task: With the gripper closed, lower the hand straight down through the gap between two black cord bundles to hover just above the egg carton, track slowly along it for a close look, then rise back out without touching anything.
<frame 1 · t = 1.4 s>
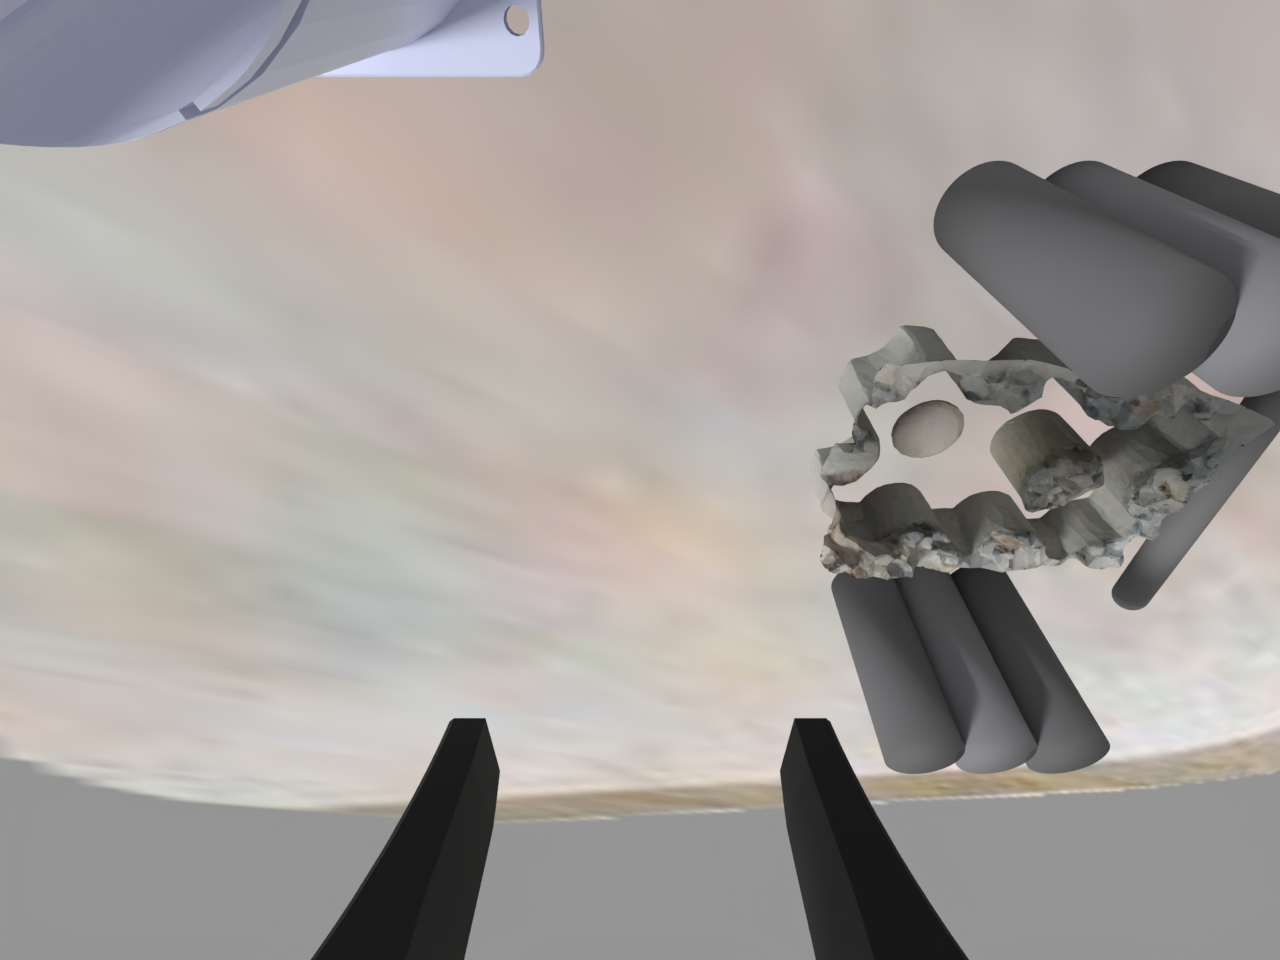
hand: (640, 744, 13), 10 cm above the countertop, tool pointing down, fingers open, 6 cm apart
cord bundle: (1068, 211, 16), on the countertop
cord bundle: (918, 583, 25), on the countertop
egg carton: (974, 422, 21), on the countertop
dark grey rod: (1224, 436, 21), on the countertop
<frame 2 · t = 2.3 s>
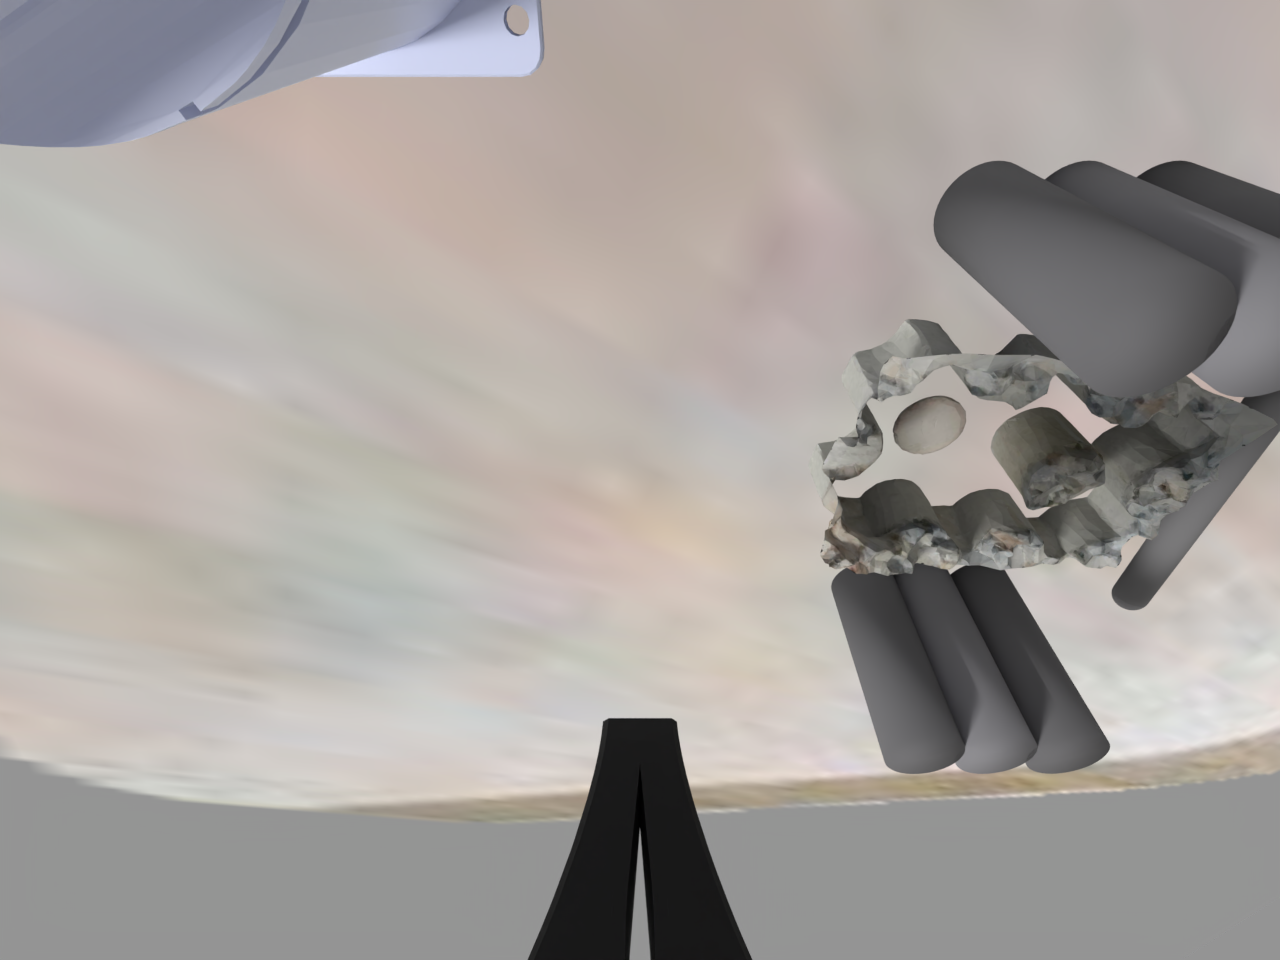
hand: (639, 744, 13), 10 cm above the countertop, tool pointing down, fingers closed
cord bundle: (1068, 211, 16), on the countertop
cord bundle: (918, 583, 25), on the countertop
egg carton: (975, 419, 21), on the countertop
dark grey rod: (1224, 436, 21), on the countertop
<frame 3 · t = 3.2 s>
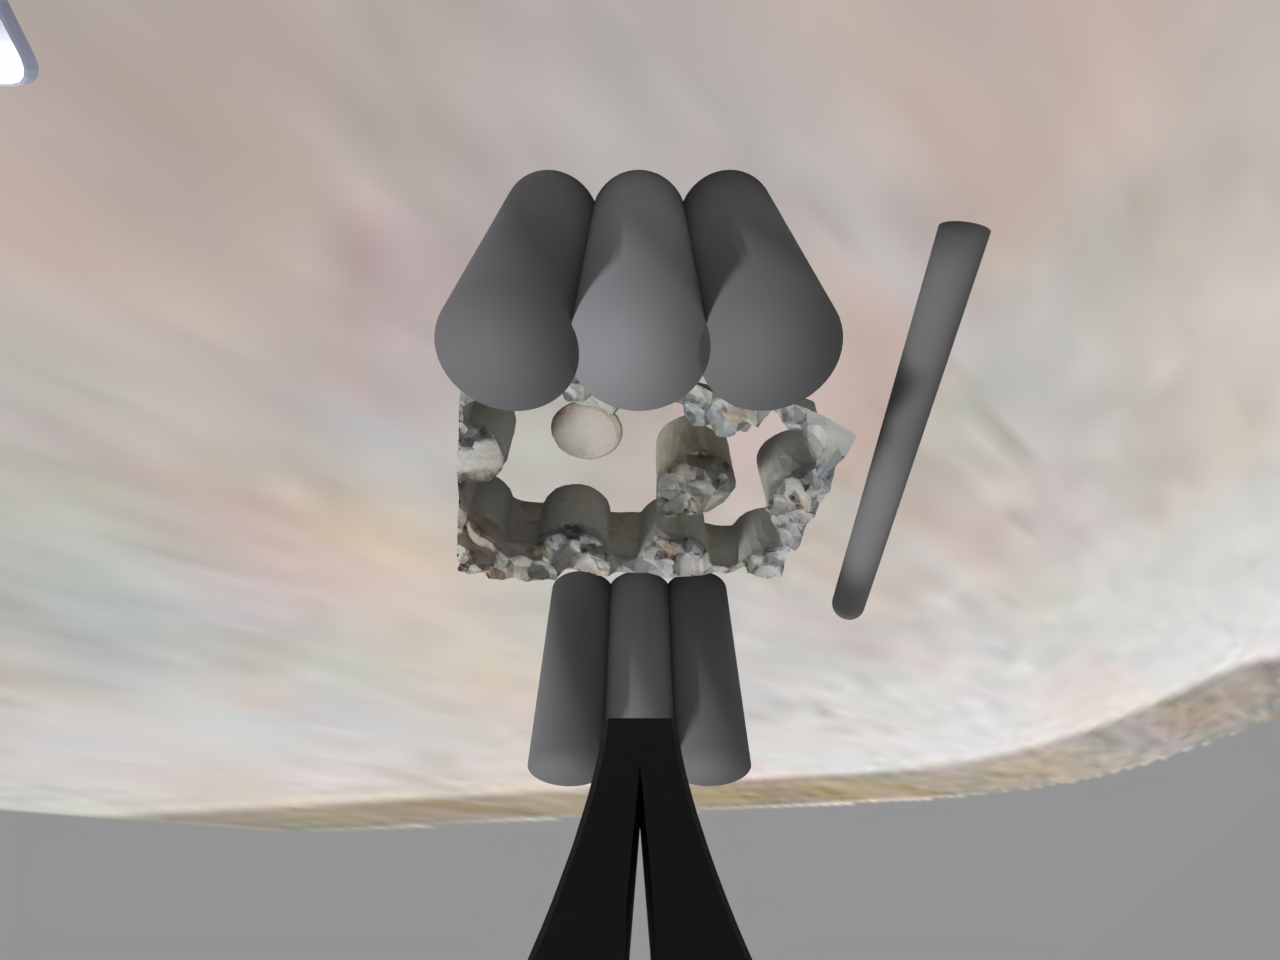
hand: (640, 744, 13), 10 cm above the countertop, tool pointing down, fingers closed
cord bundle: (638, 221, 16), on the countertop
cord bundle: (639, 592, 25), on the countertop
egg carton: (640, 424, 21), on the countertop
dark grey rod: (887, 446, 21), on the countertop
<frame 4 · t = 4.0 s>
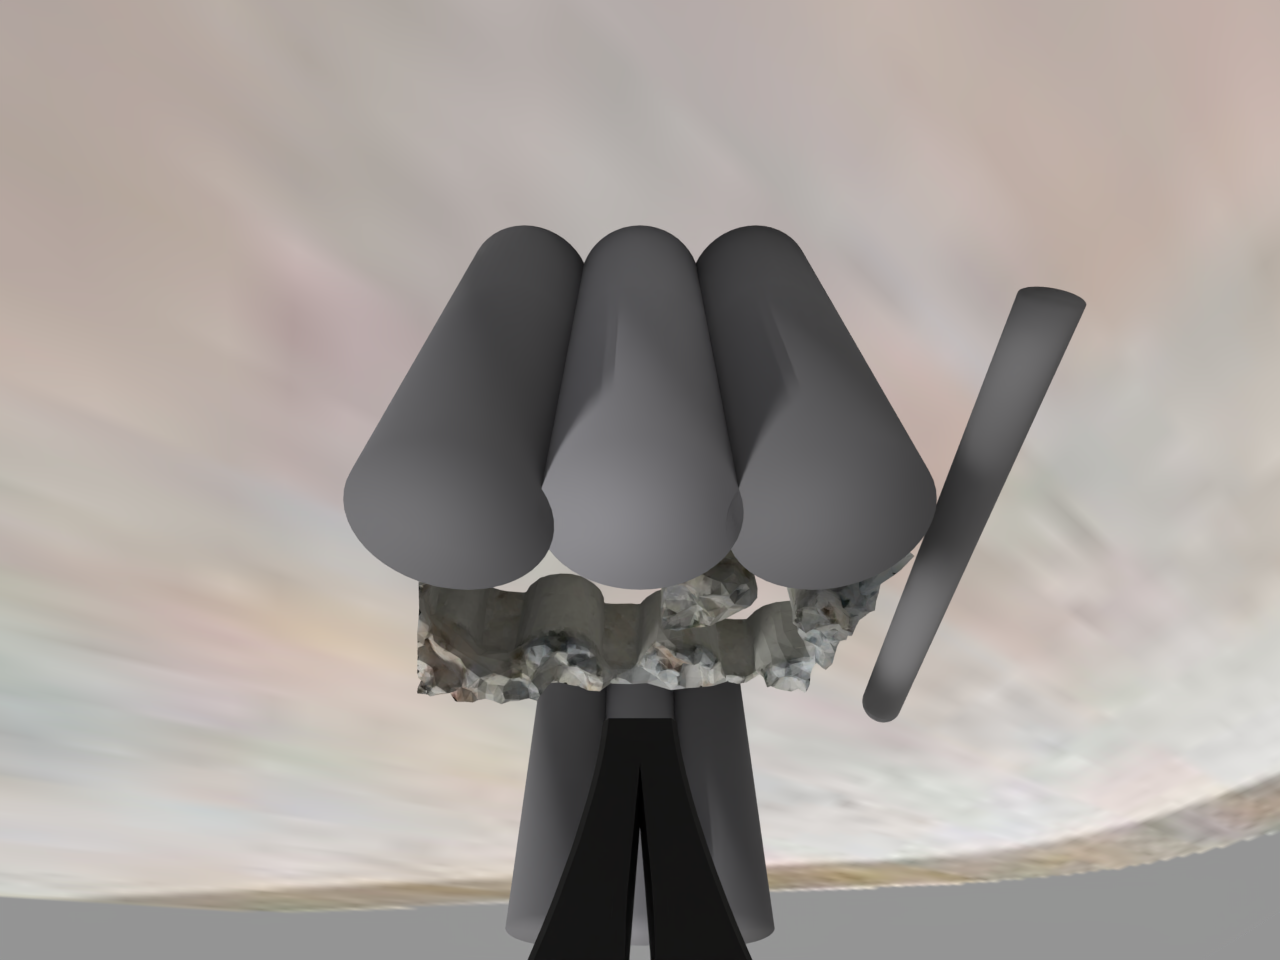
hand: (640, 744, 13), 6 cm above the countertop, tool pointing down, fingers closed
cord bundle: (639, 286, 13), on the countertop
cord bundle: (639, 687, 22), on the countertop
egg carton: (641, 509, 17), on the countertop
dark grey rod: (935, 537, 17), on the countertop
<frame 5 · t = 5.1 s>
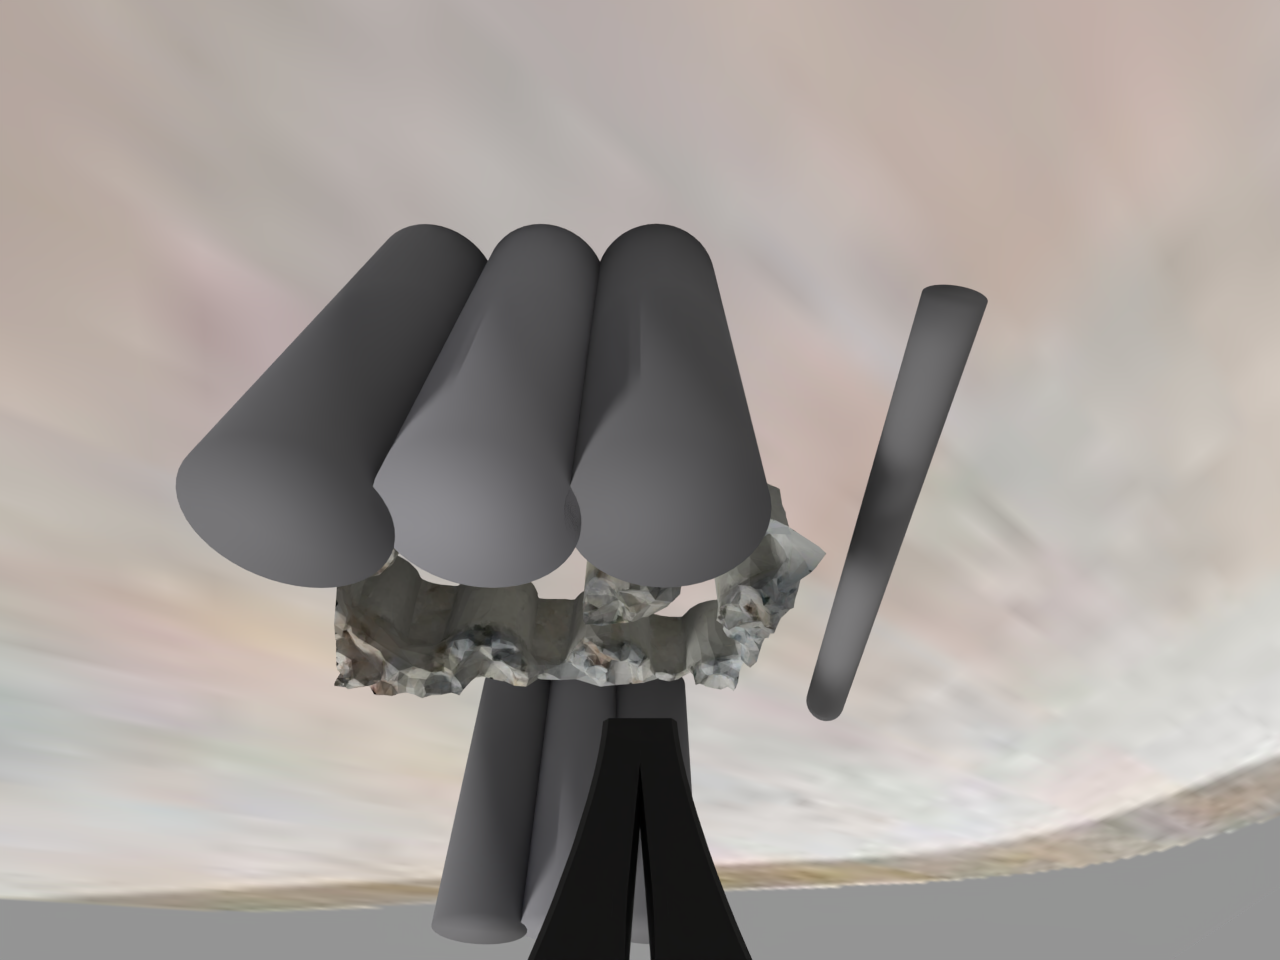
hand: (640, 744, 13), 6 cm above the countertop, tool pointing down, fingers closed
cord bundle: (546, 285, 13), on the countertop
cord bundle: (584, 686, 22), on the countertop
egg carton: (572, 504, 17), on the countertop
dark grey rod: (866, 536, 17), on the countertop
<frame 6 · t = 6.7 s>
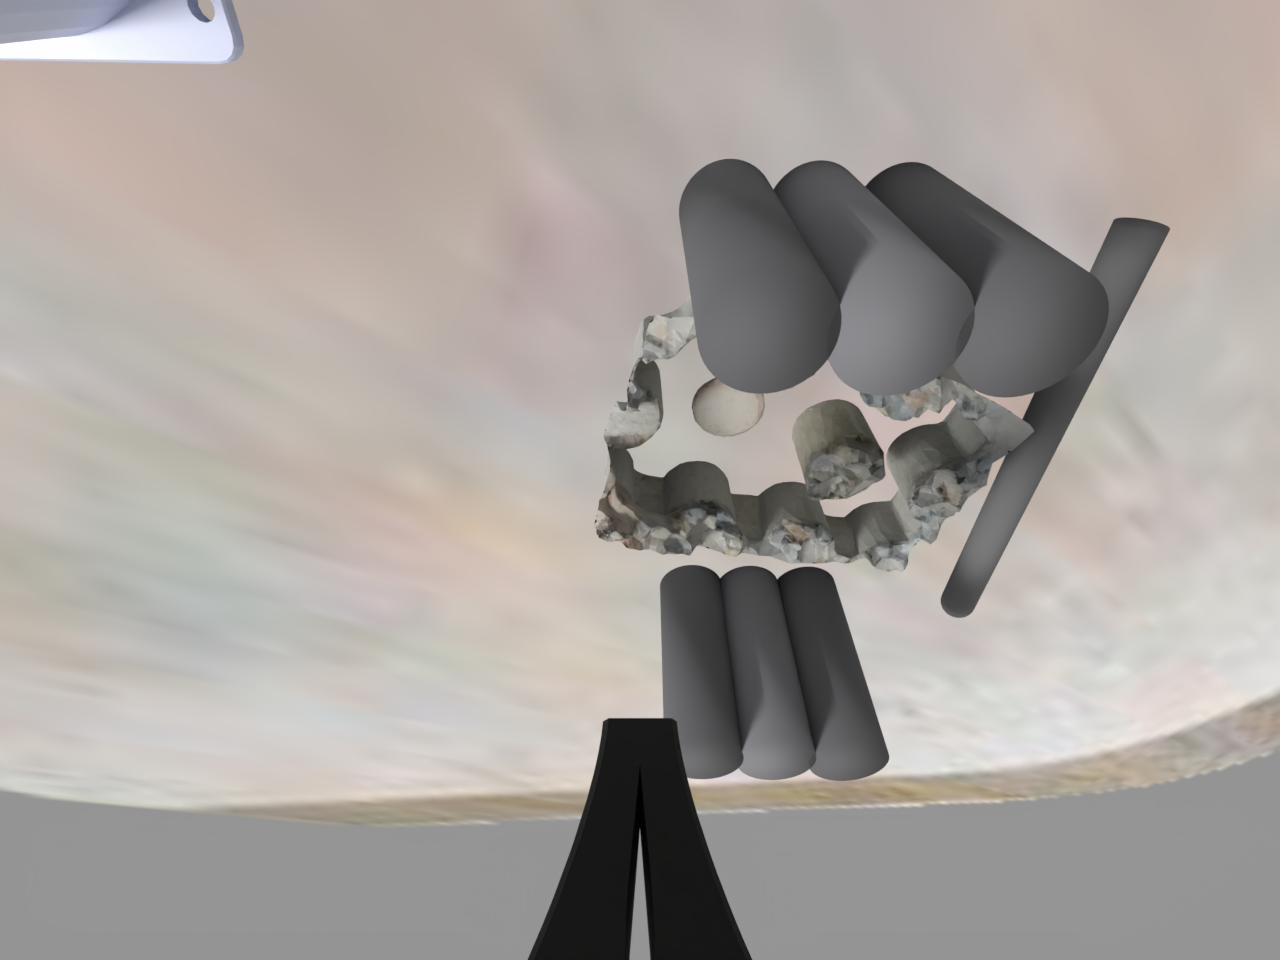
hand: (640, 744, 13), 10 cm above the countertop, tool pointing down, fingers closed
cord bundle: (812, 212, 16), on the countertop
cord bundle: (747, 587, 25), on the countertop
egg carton: (778, 406, 20), on the countertop
dark grey rod: (1020, 443, 21), on the countertop
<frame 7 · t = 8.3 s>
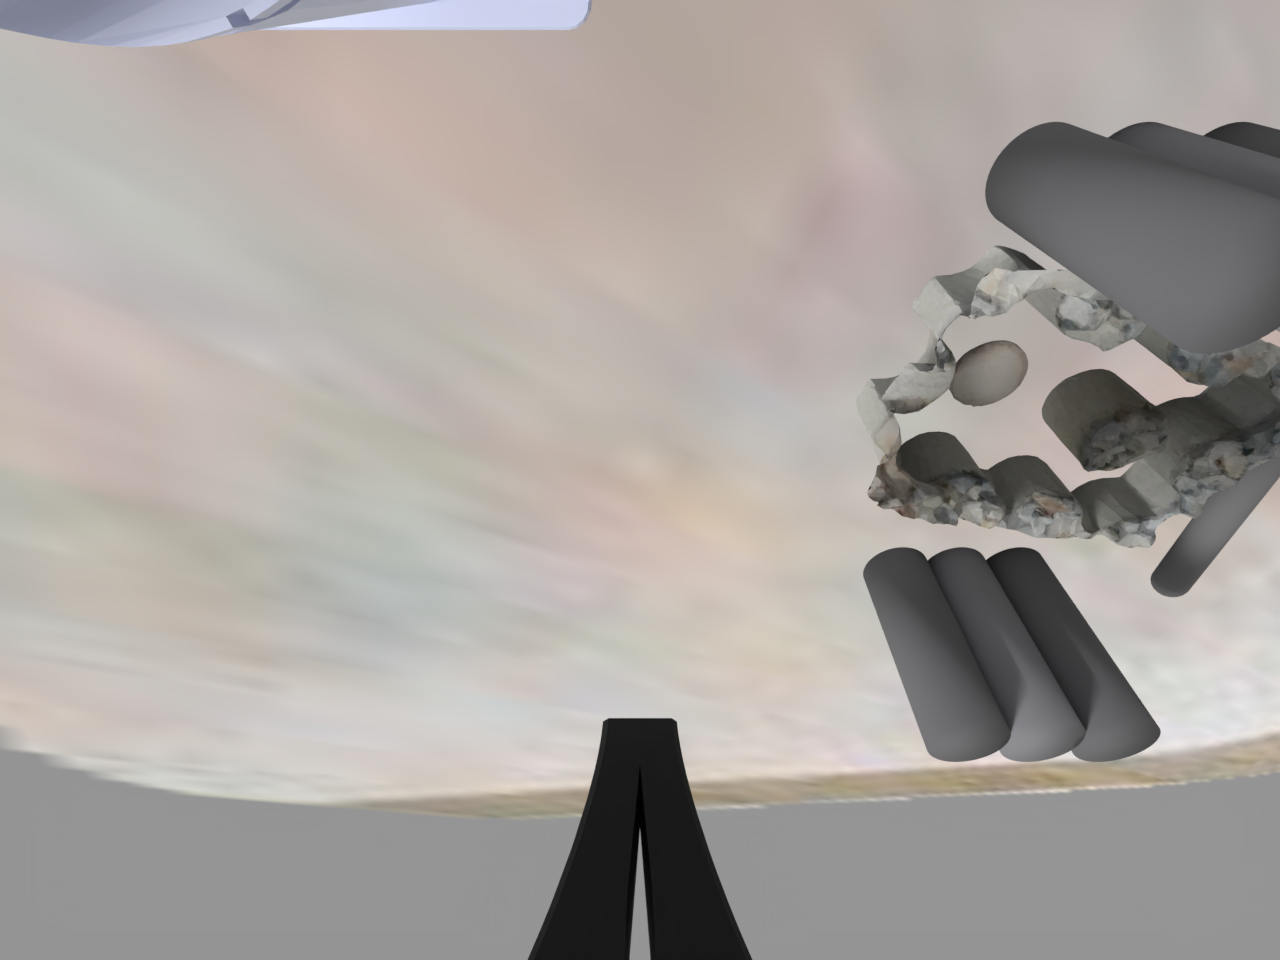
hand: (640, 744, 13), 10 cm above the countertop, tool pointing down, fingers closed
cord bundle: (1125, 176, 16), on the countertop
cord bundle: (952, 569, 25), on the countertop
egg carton: (1032, 375, 20), on the countertop
dark grey rod: (1273, 415, 20), on the countertop
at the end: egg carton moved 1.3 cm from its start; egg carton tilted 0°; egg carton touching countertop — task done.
